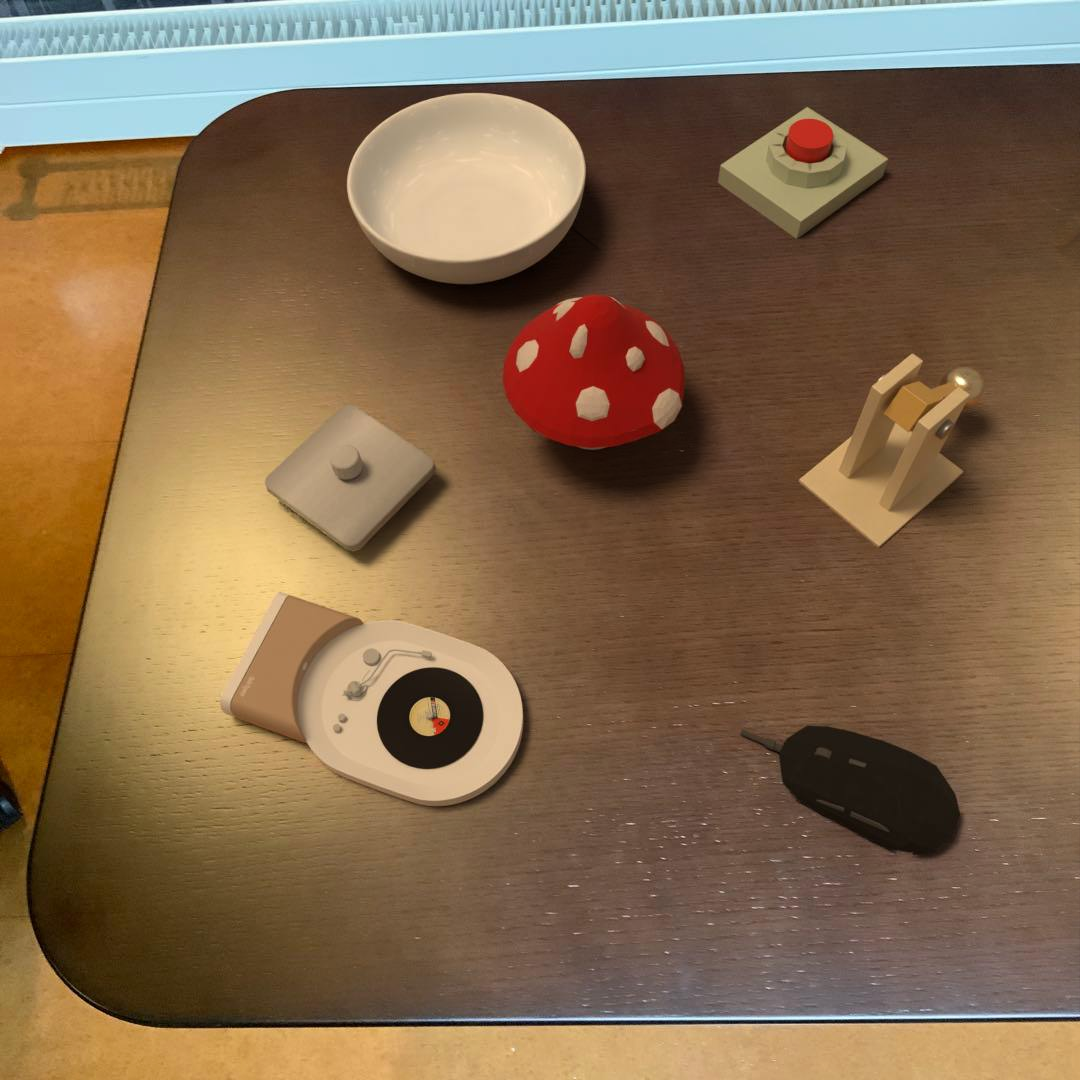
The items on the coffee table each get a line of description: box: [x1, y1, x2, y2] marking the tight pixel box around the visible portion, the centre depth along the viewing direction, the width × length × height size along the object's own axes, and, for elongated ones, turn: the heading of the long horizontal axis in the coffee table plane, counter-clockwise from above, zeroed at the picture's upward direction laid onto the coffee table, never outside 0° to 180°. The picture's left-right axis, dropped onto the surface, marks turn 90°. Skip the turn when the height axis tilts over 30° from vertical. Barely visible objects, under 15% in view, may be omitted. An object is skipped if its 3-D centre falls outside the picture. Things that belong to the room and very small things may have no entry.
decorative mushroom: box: [502, 293, 686, 451], centre depth 79 cm, size 14×14×15 cm
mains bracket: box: [798, 353, 970, 549], centre depth 77 cm, size 10×8×12 cm
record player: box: [219, 591, 524, 807], centre depth 73 cm, size 12×3×20 cm
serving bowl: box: [346, 92, 587, 285], centre depth 94 cm, size 21×21×7 cm
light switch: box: [264, 404, 437, 552], centre depth 81 cm, size 10×10×5 cm
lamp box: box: [717, 106, 889, 240], centre depth 97 cm, size 12×10×4 cm
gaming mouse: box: [740, 724, 961, 856], centre depth 69 cm, size 6×15×4 cm, turn 63°
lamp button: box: [785, 119, 833, 164], centre depth 95 cm, size 4×4×2 cm
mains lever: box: [884, 365, 986, 432], centre depth 77 cm, size 12×3×3 cm
